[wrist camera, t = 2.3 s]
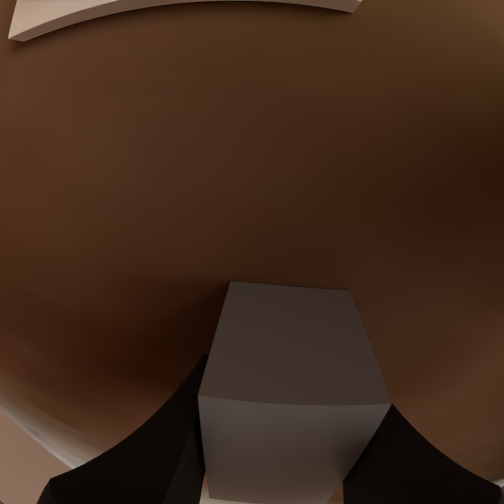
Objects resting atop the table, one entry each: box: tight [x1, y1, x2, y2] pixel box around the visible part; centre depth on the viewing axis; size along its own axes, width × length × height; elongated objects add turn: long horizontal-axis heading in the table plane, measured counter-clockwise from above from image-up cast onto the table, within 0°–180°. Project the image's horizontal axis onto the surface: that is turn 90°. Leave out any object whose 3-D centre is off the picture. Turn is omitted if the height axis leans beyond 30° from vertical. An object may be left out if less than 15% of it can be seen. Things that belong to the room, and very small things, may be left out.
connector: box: [198, 281, 392, 504], centre depth 9 cm, size 4×6×5 cm, turn 176°
